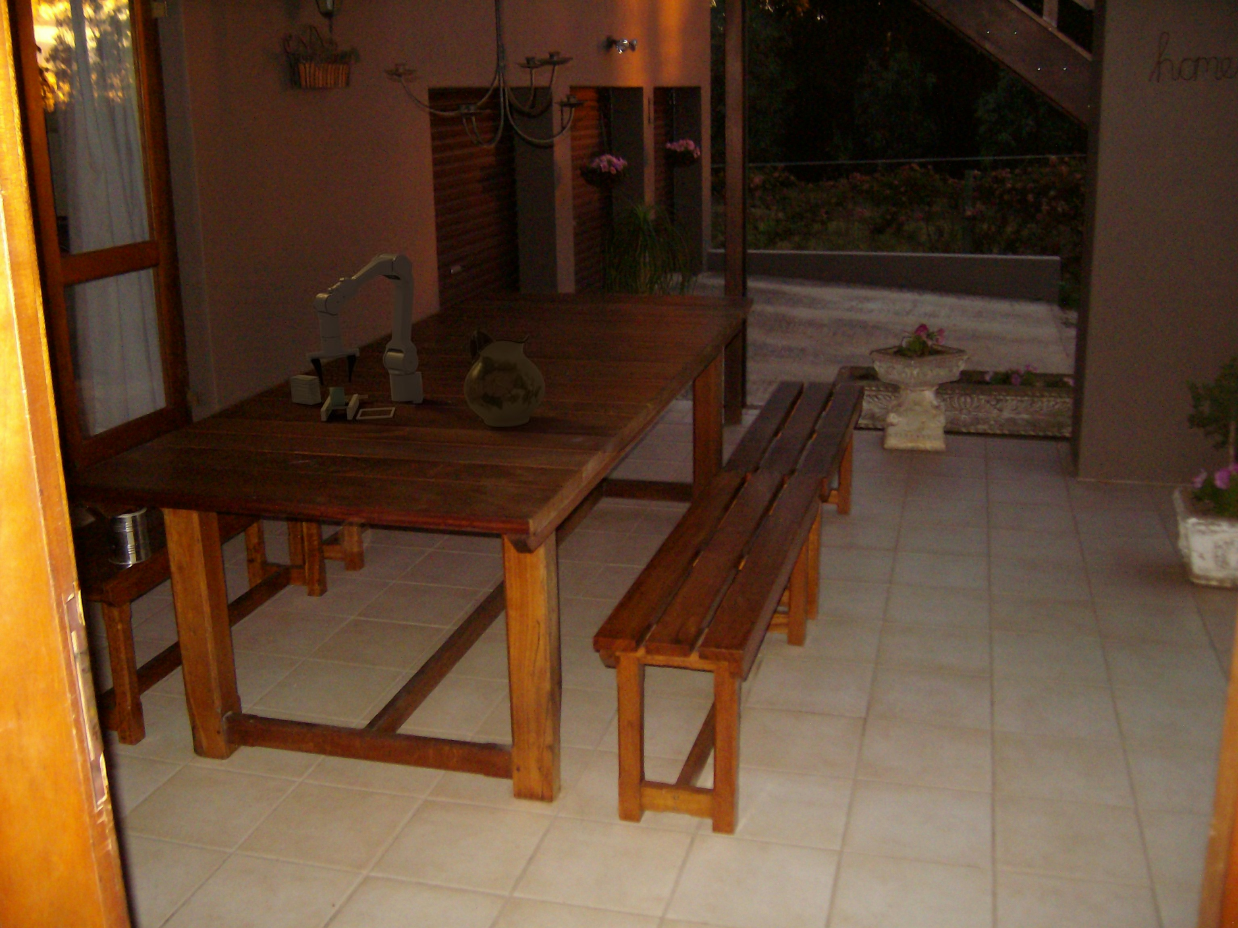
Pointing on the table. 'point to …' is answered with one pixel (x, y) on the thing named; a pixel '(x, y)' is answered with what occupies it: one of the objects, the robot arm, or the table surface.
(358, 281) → the robot arm
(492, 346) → the pitcher
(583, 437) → the table surface
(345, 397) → the lever
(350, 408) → the beige h-shaped piece
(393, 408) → the tray
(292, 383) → the medicine box
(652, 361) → the table surface
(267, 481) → the table surface
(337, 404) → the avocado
